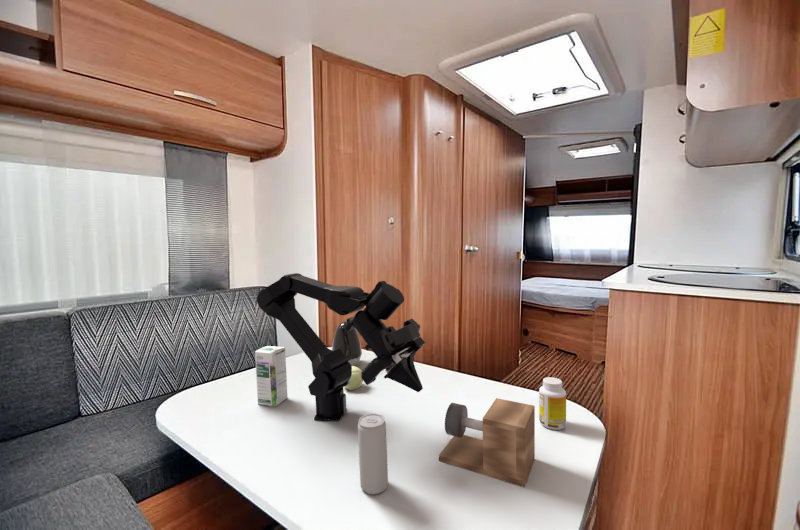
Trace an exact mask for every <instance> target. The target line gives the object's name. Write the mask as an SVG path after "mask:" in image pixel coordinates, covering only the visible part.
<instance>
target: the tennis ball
mask: <svg viewBox="0 0 800 530" xmlns="http://www.w3.org/2000/svg"><path fill="white" fill-rule="evenodd" d="M351 367H352V375H351V378H350V379H349V381H348V385H347V386H344V387H343V388H345V389H346V390H349V391H354V390H358V389H359V388H360V387H361V386H362V384H363V382H364V381H363V380H362V378H361V372H362V371H363V370H361V368H359V367H358V366H356V365H355V366H351Z"/></svg>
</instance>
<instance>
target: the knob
mask: <svg viewBox="0 0 800 530" xmlns="http://www.w3.org/2000/svg"><path fill="white" fill-rule="evenodd" d="M468 413H469V412H468V407H467V405H465V404H461V403H455V402H451V403H450V404H449V405H448V407H447V409H446V412H445V419H444V431H445V433H446V434H447V435H448V436H452V437H453V436H456V437H459V438H461V437H462V436H463V435H465V432H466V431H467V430H466V429H467V428H468V429H471V430H476V431H481V432H483V420H479V419H475V418H471V417H468V416H469V415H468Z"/></svg>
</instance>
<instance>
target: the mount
mask: <svg viewBox="0 0 800 530" xmlns="http://www.w3.org/2000/svg"><path fill="white" fill-rule="evenodd" d="M535 408H536V407H535V405H533V404H527V403H523V402H516V401H512V400H507V399H502V398H499V397H498V398H497V397H496V398H495V400H494V401H493V402H492V403H491V405H490V407H488V410H487V412H486V413H485V414H484V415H483V417H482V421H483V431H482V439H481V438H476V437H473V436H469V435H465V434H464V435H463V436H462V437H461V438H459V437H456V436H452V437H451V439H449V441H448V442H447V444H446V445H445V446H444V448H443V449H442V450H441V452H440V453H439V454H438V462H442V463H444V464H445V463H446V464H450V465H451V466H455V467H459V468H461V469H464V470H468V471H471V472H475V473H477V474H481V475H484V476H487V477H490V478H494V479H497V480H500V481H504V482H505V483H510V484H512V485H516V486H520V487H522V488H526V487H527V486H526V485H527V483H528V480H529V476H530V474H531V471H532V469H533V468H532V467H533V464H534V461H535V457H536V456H535V455H536V453H535V452H536V451H535V450H536V448H535V447H536V446H535V445H536V443H535V441H536V439H535V438H536V437H535V435H536V434H535V432H536V431H535V428H536V427H535V424H536V423H535V415H536V414H535V413H536V412H535Z"/></svg>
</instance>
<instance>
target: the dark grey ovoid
mask: <svg viewBox="0 0 800 530" xmlns="http://www.w3.org/2000/svg"><path fill="white" fill-rule="evenodd" d="M346 325H347V320H346V321H345V320H343V321H342V322H340V323H339V324H338V325H337V327H336V330H335V332H334V336H333V340H332V345H331V350H332V351H334V350H336V349H340V350H341V351H342V352H343V354H344V355H345V357H346V358H348V359H349V361H348V362H349V363H350V365H351V366H355V367H356V365H357V364H358V363H359V362H360V360H361V357H362V355H363V350H362V345H361V340H360V336H359V333H358V332H357V330H356V329H352V330H349V331H346Z"/></svg>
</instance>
